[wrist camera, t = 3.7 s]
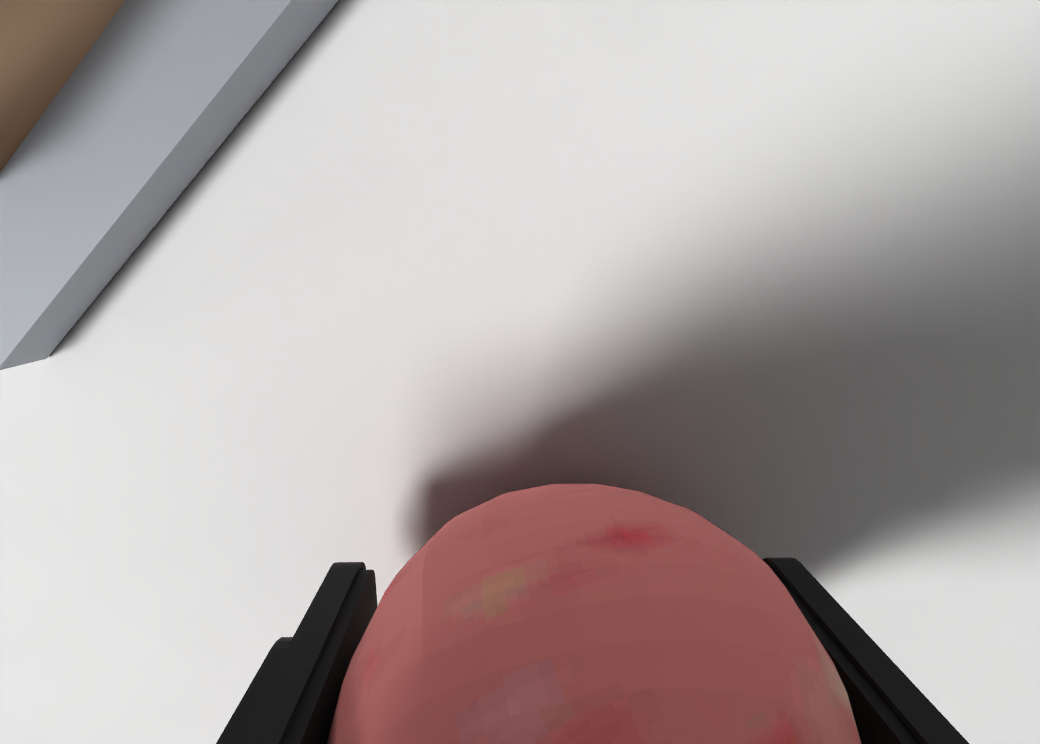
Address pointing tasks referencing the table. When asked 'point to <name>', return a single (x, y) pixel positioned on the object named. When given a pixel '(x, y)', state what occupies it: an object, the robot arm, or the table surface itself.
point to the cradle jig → (114, 134)
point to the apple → (589, 634)
